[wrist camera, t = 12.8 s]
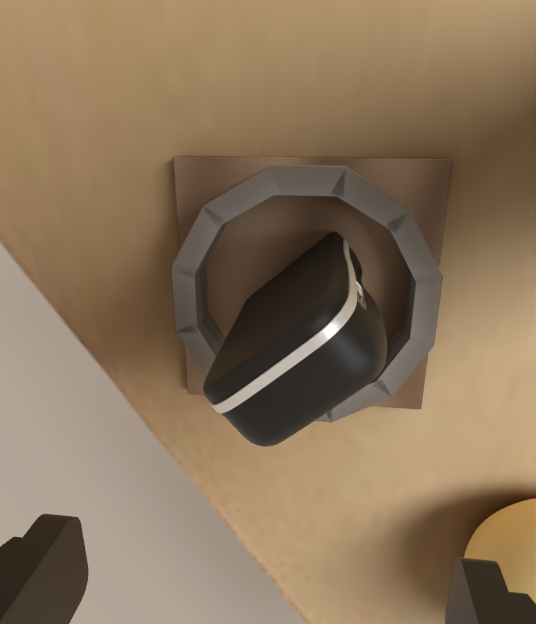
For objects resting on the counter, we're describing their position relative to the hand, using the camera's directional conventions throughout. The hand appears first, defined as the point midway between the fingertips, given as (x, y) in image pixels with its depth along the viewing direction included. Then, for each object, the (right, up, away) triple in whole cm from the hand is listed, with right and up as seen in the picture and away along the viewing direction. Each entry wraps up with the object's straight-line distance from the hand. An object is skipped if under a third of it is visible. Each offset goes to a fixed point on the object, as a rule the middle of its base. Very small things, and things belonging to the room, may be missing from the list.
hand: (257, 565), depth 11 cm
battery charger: (+3, +7, +17) cm, 19 cm away
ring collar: (+2, +7, +18) cm, 20 cm away
